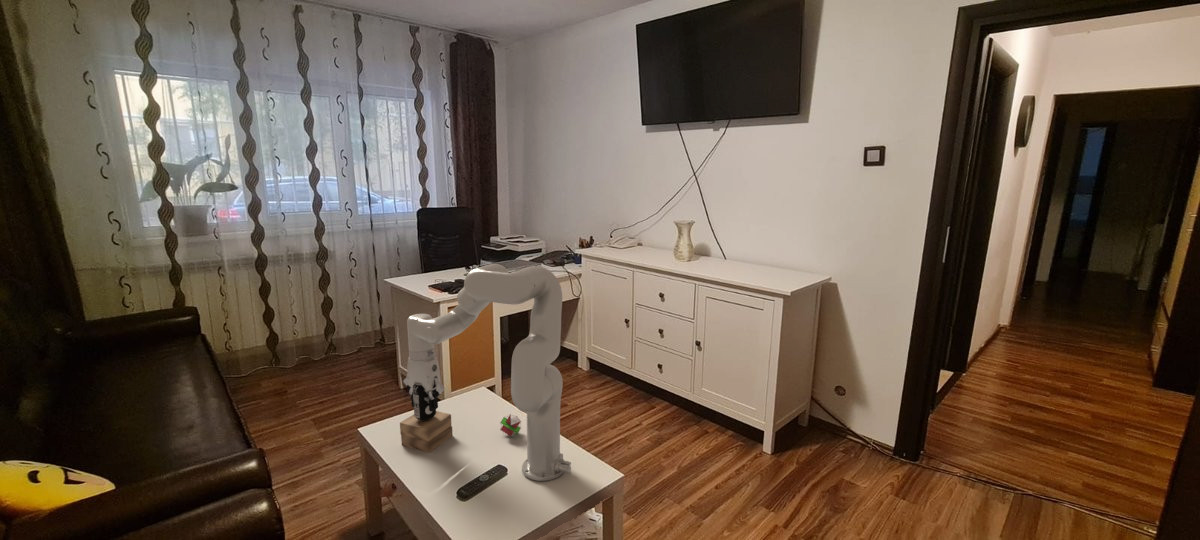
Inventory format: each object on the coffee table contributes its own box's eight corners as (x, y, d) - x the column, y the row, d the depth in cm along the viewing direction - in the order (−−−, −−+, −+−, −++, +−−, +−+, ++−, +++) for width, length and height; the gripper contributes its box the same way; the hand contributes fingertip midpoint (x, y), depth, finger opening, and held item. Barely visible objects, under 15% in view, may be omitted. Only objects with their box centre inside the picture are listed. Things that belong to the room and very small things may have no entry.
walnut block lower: (452, 437, 166) (452, 426, 166) (428, 454, 157) (428, 442, 156) (426, 430, 171) (425, 419, 170) (401, 446, 161) (401, 434, 160)
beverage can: (439, 412, 165) (437, 377, 163) (431, 421, 158) (428, 385, 156) (420, 411, 165) (418, 376, 163) (410, 420, 159) (408, 384, 157)
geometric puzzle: (496, 441, 164) (496, 418, 162) (503, 430, 170) (502, 408, 169) (518, 442, 163) (518, 419, 162) (524, 432, 170) (523, 410, 168)
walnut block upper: (451, 425, 166) (451, 414, 165) (428, 441, 156) (427, 429, 155) (424, 419, 170) (424, 408, 170) (400, 434, 160) (399, 422, 159)
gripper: (452, 354, 158) (454, 407, 161) (409, 346, 165) (412, 397, 168) (434, 361, 151) (437, 417, 154) (391, 353, 158) (395, 406, 161)
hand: (424, 406), depth 161 cm, fingers closed on beverage can, 6 cm apart
